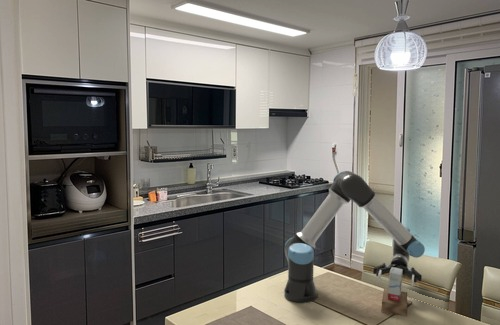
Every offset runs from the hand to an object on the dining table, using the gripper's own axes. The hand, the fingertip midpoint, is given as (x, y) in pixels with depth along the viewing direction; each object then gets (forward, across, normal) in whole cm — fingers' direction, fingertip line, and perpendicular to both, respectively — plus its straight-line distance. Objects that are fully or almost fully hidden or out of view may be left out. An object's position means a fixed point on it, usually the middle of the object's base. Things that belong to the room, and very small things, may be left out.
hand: (395, 280), depth 165 cm
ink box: (-3, 0, -9) cm, 9 cm away
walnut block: (-3, 0, -14) cm, 14 cm away
